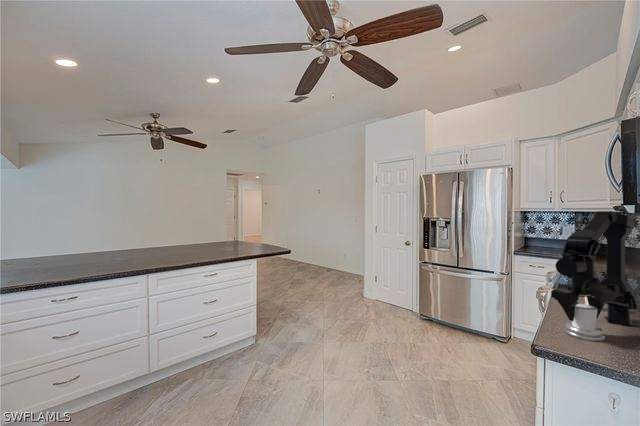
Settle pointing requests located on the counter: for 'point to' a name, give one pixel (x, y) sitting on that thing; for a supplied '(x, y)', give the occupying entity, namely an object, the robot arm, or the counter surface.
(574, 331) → the duct stub
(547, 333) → the counter surface
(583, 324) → the white cup
